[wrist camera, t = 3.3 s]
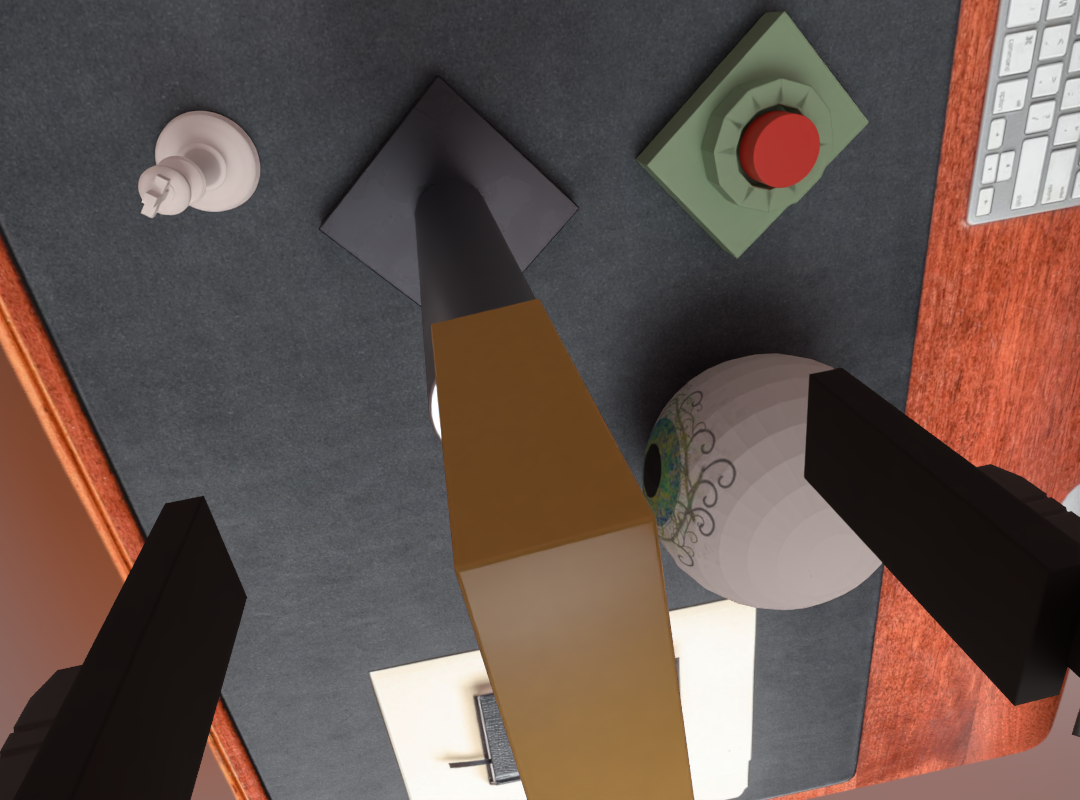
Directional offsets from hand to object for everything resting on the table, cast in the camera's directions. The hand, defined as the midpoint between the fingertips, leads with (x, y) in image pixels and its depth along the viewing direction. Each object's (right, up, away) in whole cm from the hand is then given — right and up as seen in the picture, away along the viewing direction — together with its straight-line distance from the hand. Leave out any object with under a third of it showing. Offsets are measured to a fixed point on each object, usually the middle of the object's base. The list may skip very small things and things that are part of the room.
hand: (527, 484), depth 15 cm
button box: (+12, +17, +25) cm, 33 cm away
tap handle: (0, -2, +5) cm, 6 cm away
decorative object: (+13, +1, +34) cm, 36 cm away
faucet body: (-5, +12, +24) cm, 28 cm away
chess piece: (-17, +14, +21) cm, 31 cm away
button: (+12, +15, +22) cm, 30 cm away
